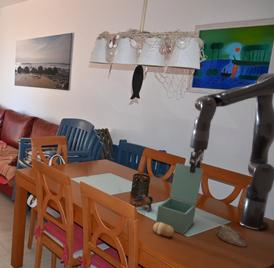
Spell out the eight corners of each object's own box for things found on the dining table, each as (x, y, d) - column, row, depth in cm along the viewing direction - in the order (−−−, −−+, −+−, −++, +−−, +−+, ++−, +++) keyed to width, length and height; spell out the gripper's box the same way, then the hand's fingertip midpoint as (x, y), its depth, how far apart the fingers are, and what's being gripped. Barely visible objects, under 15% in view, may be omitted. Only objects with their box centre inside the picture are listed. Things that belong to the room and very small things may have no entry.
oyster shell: (223, 243, 146) (225, 233, 145) (214, 231, 158) (216, 221, 157) (247, 247, 144) (249, 237, 143) (236, 234, 156) (238, 224, 155)
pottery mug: (146, 214, 173) (139, 199, 174) (133, 215, 181) (127, 201, 182) (160, 205, 179) (153, 190, 180) (147, 206, 187) (141, 192, 188)
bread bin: (182, 234, 152) (186, 214, 150) (155, 225, 160) (158, 205, 158) (192, 223, 165) (196, 204, 163) (167, 215, 173) (169, 197, 171)
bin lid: (202, 169, 161) (205, 168, 165) (176, 163, 169) (178, 162, 172) (196, 204, 163) (198, 202, 166) (169, 196, 170) (172, 195, 174)
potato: (174, 237, 149) (176, 226, 149) (170, 239, 145) (172, 228, 145) (154, 230, 155) (156, 219, 154) (150, 232, 151) (152, 221, 150)
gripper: (204, 141, 152) (198, 175, 155) (212, 138, 163) (206, 170, 166) (187, 138, 157) (182, 171, 160) (195, 135, 167) (190, 166, 170)
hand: (194, 171), depth 163 cm, fingers open, 8 cm apart
